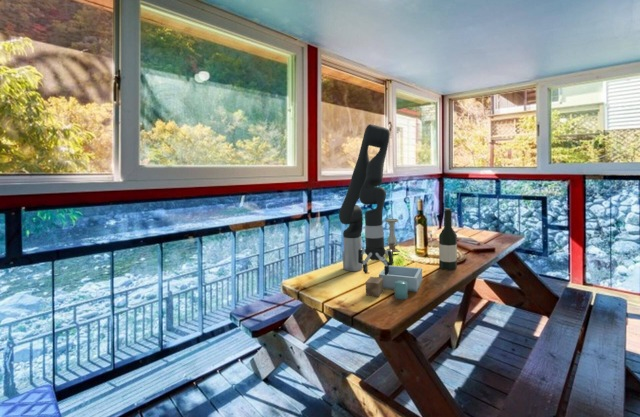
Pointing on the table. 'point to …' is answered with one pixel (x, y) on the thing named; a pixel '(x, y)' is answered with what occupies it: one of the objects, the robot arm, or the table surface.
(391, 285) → the blue-grey tote
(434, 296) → the table surface
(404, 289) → the teal glossy cylinder
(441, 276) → the table surface
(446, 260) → the wine bottle
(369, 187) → the robot arm
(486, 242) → the table surface
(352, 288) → the table surface
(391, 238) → the candle holder
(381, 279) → the walnut block
